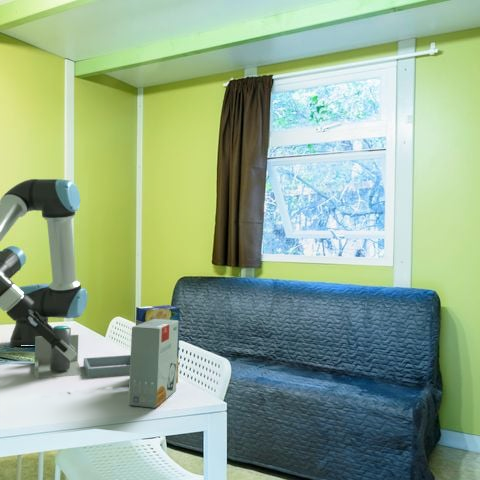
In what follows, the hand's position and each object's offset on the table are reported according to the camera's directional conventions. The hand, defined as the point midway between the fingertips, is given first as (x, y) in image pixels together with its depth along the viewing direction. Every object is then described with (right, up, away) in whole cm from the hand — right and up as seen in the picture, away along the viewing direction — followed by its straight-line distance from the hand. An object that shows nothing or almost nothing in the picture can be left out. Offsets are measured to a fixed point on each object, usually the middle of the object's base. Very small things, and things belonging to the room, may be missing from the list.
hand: (73, 354), depth 147 cm
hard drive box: (+28, -7, -19) cm, 35 cm away
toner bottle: (-3, -4, -1) cm, 5 cm away
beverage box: (+26, -7, -5) cm, 28 cm away
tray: (+11, -6, +2) cm, 13 cm away
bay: (-5, -6, +1) cm, 8 cm away
